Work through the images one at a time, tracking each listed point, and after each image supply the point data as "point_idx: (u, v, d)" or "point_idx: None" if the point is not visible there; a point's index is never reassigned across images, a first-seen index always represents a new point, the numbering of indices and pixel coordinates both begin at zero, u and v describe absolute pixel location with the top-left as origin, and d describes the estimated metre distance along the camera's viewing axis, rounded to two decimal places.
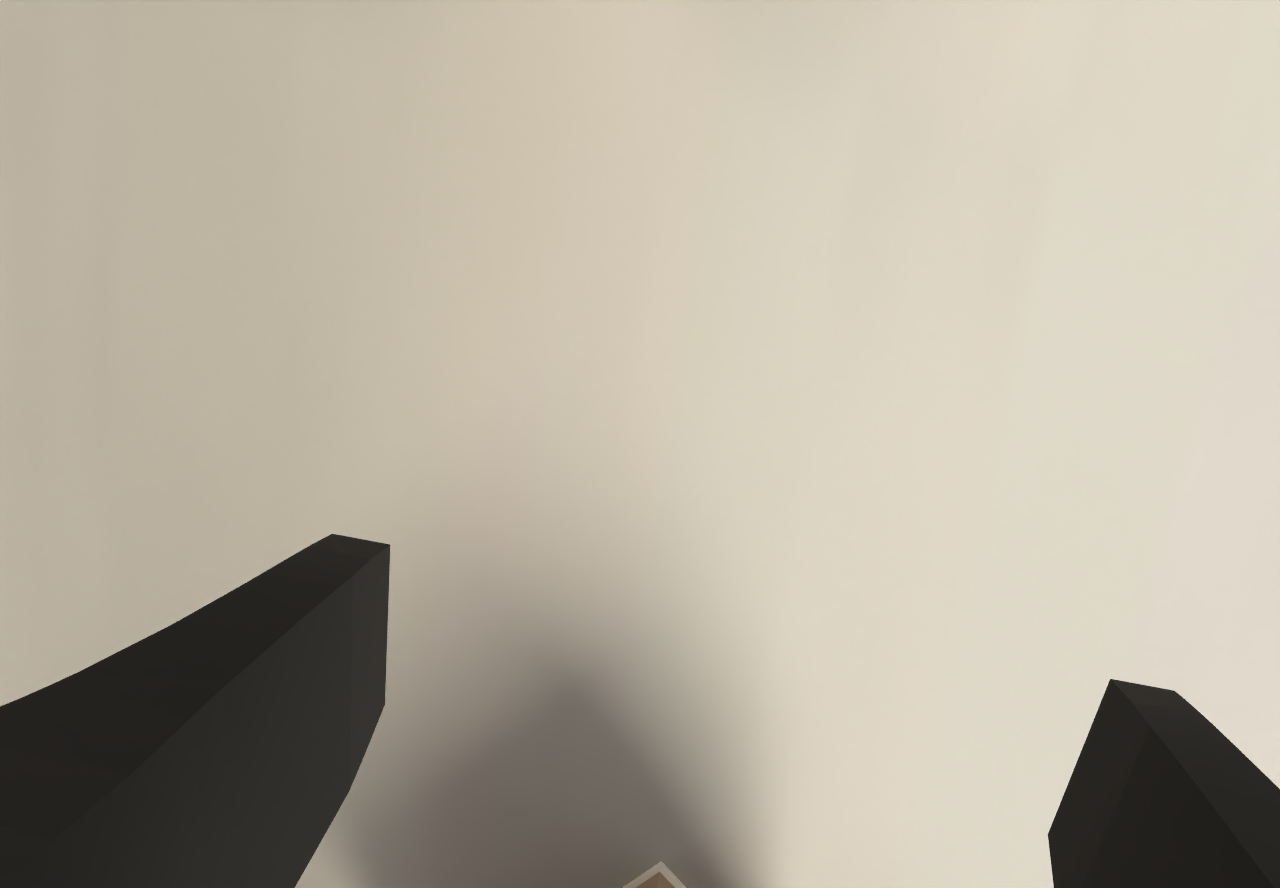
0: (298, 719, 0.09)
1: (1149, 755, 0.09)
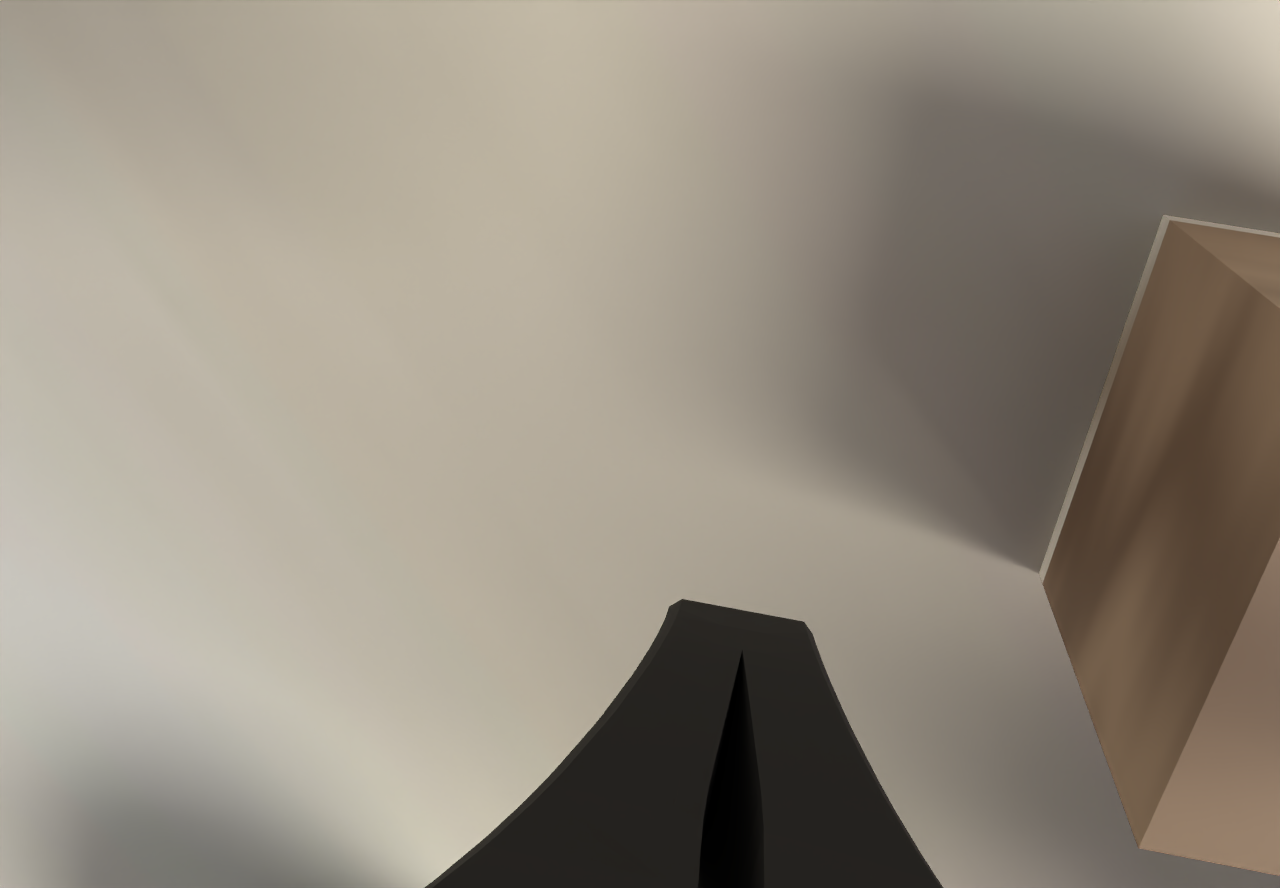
0: (707, 801, 0.09)
1: (739, 677, 0.09)
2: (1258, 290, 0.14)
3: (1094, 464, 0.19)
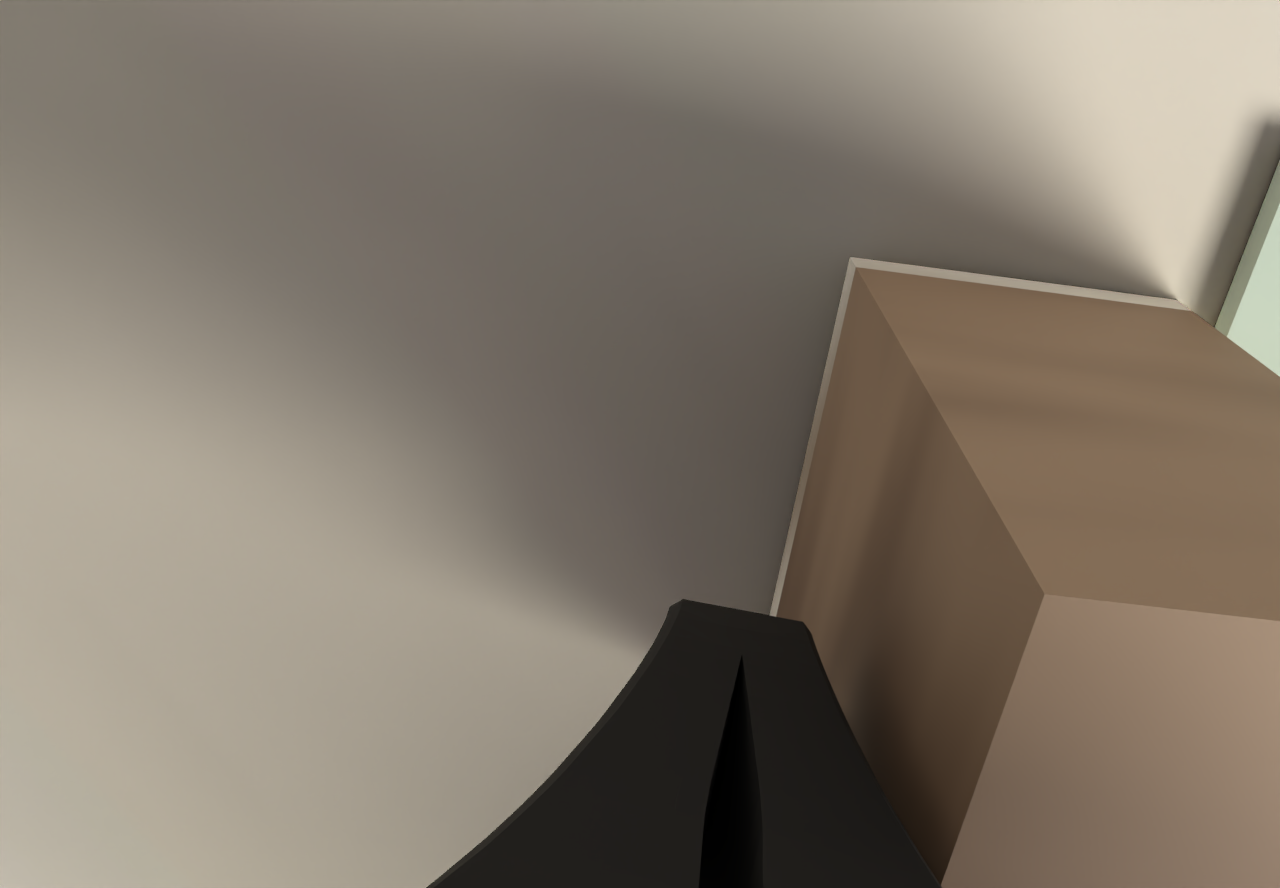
0: (709, 800, 0.09)
1: (738, 677, 0.09)
2: (936, 402, 0.09)
3: (789, 594, 0.14)
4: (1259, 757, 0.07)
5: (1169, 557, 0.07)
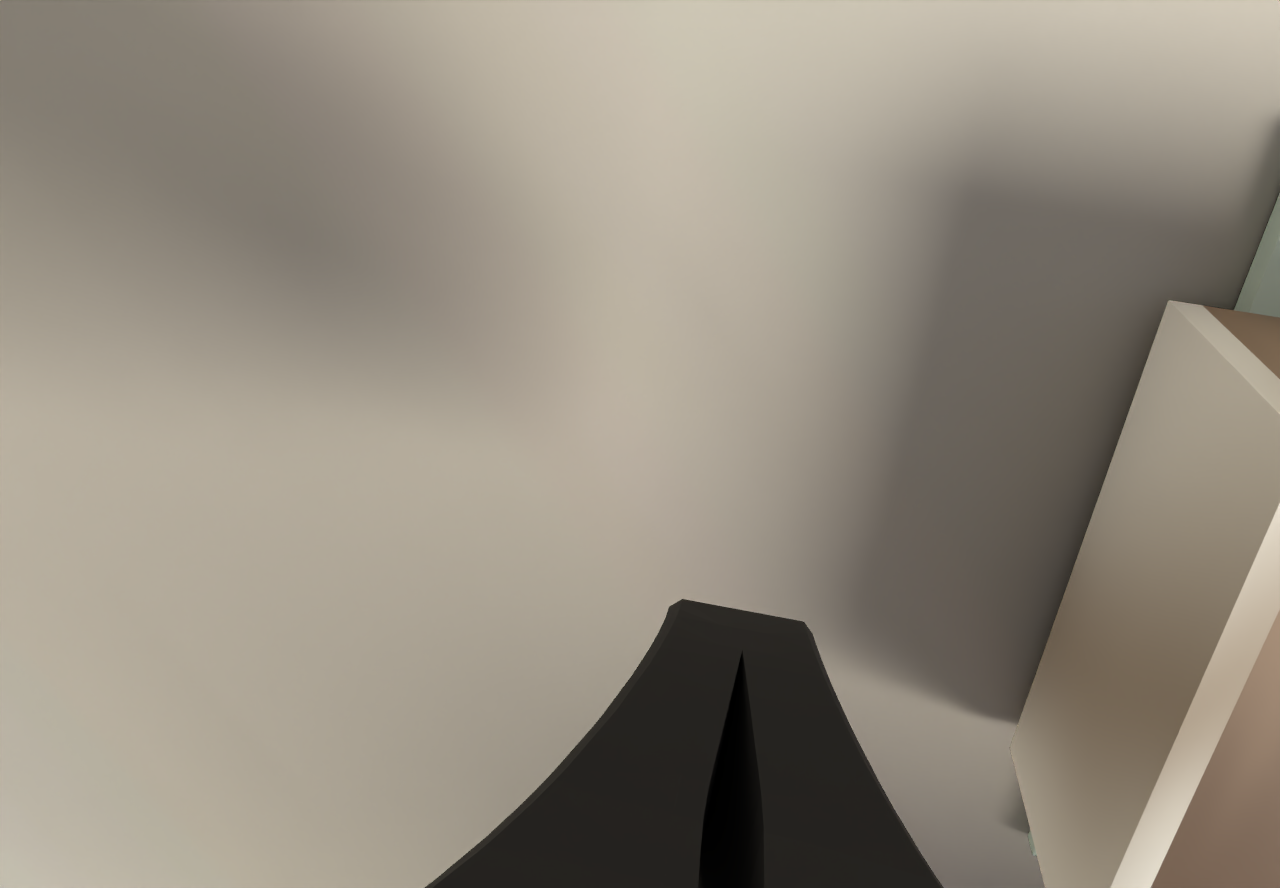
0: (707, 800, 0.09)
1: (739, 677, 0.09)
2: None
3: (1231, 818, 0.11)
4: None
5: None
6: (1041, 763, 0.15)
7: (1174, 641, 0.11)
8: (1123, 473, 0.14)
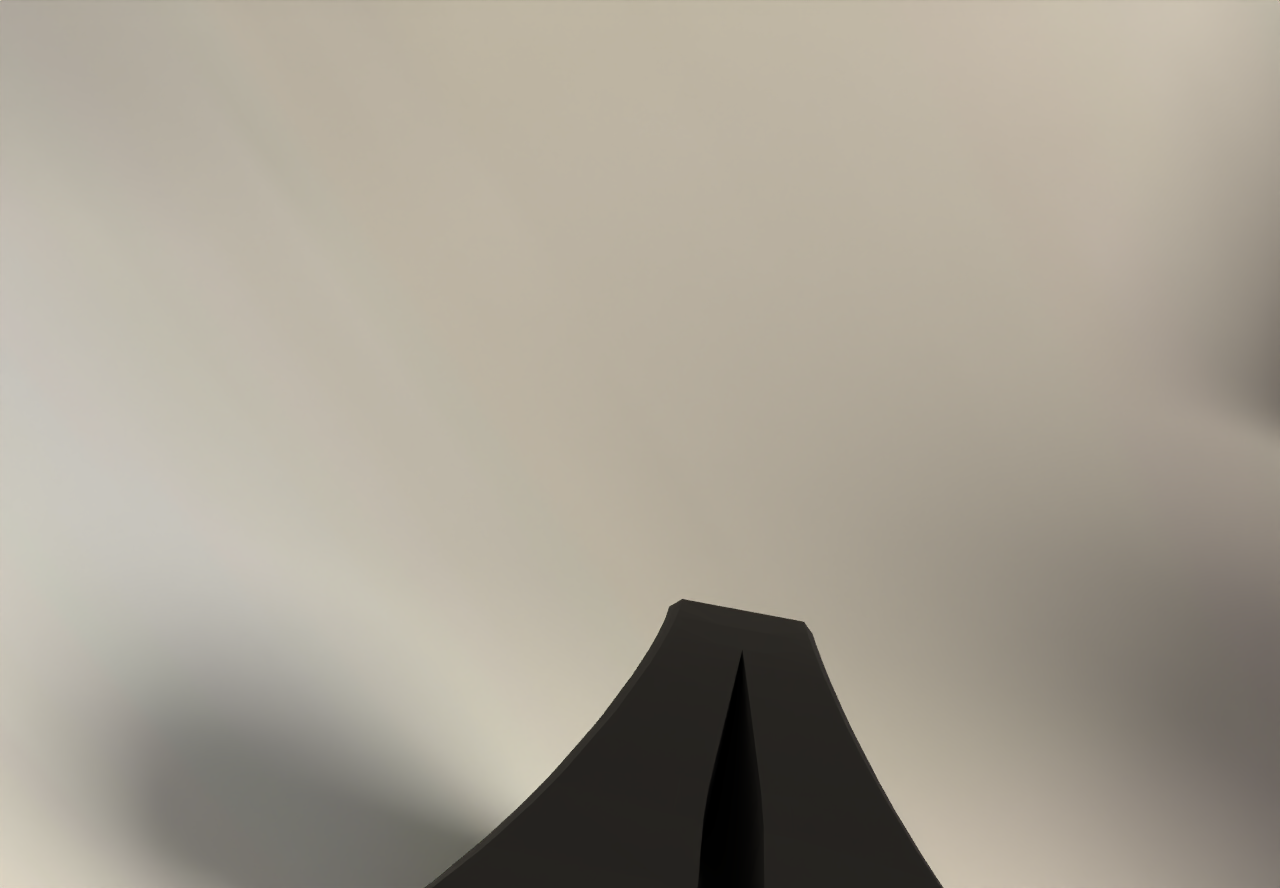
0: (707, 801, 0.09)
1: (739, 677, 0.09)
2: None
3: None
4: None
5: None
6: None
7: None
8: None
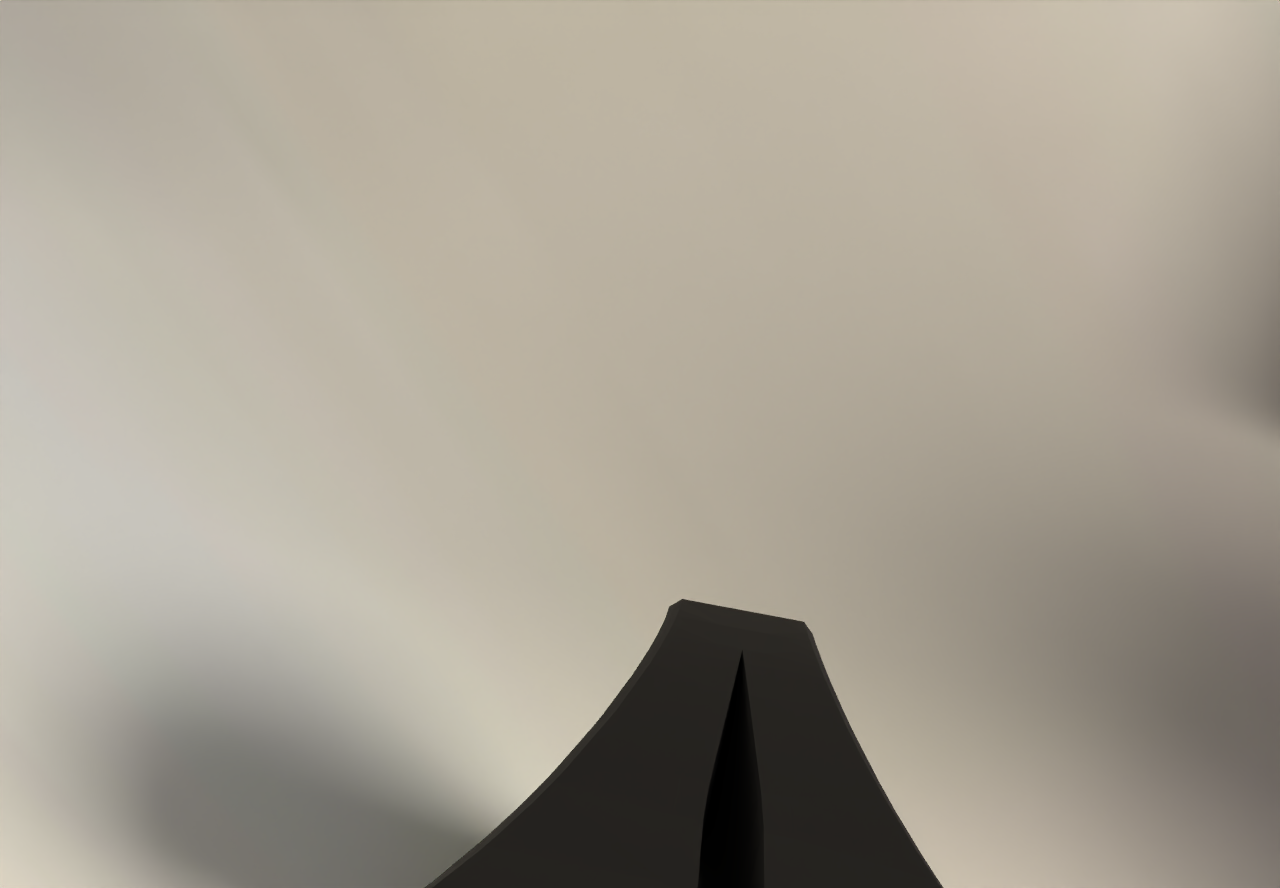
0: (707, 801, 0.09)
1: (739, 677, 0.09)
2: None
3: None
4: None
5: None
6: None
7: None
8: None
